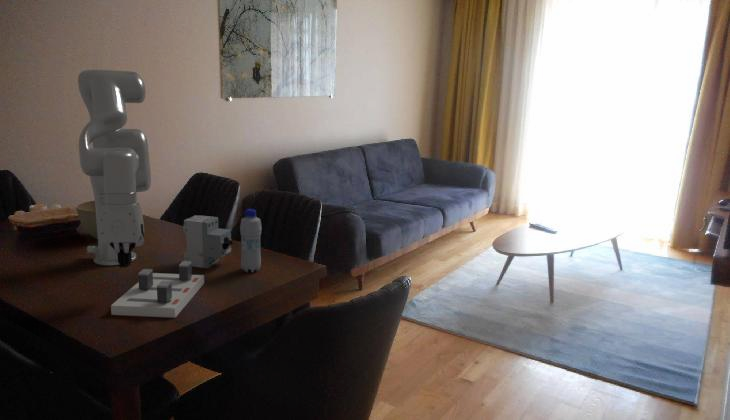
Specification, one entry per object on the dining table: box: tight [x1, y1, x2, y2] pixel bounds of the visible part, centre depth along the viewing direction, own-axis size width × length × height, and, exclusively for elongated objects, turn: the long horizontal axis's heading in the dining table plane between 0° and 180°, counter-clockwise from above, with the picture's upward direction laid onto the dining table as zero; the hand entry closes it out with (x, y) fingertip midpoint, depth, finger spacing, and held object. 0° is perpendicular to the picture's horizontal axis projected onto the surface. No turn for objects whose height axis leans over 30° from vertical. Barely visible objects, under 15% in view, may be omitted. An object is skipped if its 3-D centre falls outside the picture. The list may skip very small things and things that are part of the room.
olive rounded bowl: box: [75, 200, 98, 240], centre depth 196 cm, size 18×18×12 cm
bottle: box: [239, 208, 263, 273], centre depth 167 cm, size 7×7×20 cm
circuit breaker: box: [182, 214, 234, 269], centre depth 172 cm, size 8×14×15 cm, turn 78°
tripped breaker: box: [137, 268, 154, 290], centre depth 144 cm, size 2×4×4 cm, turn 0°
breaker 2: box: [178, 260, 193, 281], centre depth 152 cm, size 2×4×4 cm, turn 0°
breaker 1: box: [157, 281, 172, 303], centre depth 136 cm, size 2×4×4 cm, turn 0°
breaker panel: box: [110, 272, 205, 318], centre depth 145 cm, size 16×24×3 cm, turn 0°
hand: (125, 265), depth 142 cm, fingers closed
